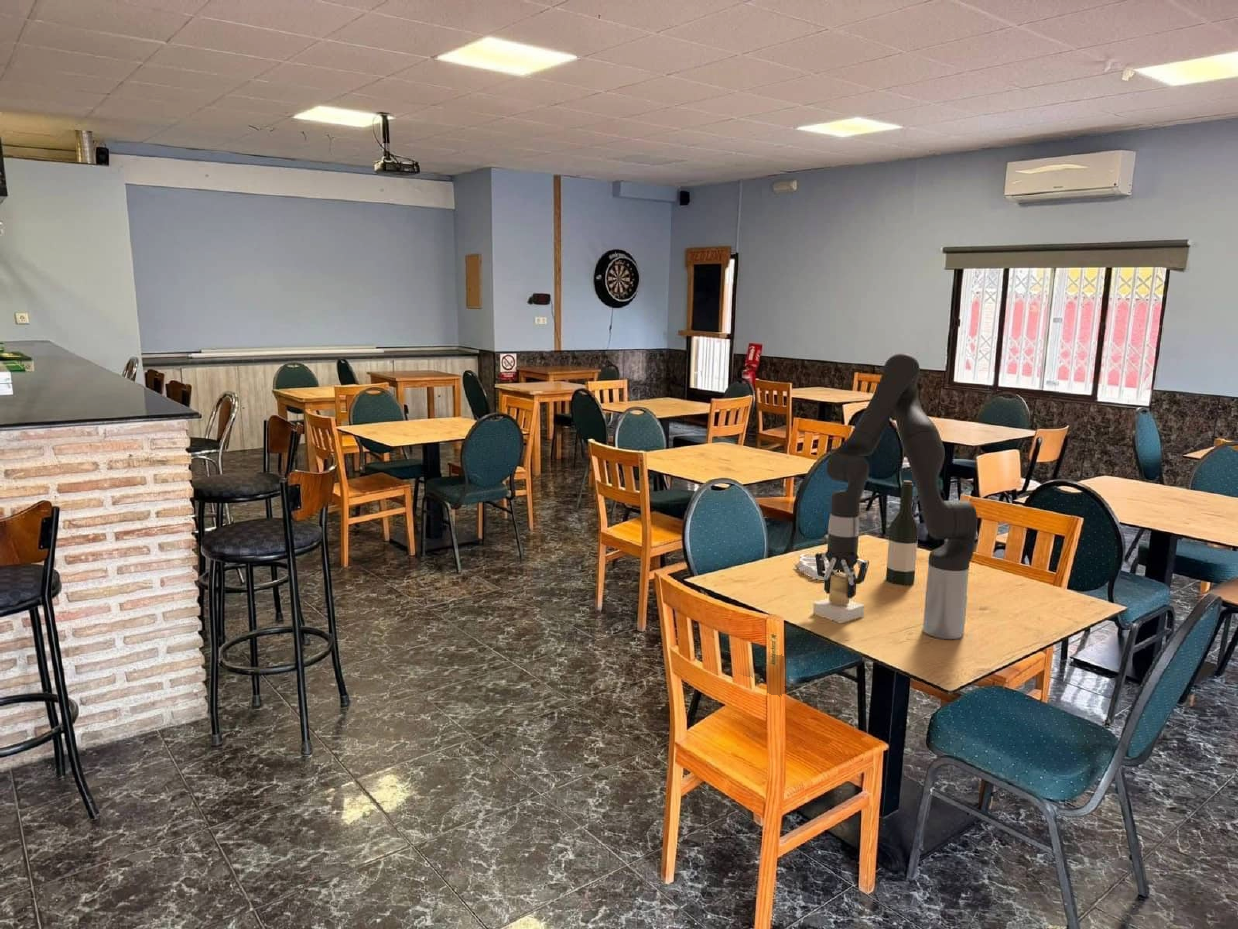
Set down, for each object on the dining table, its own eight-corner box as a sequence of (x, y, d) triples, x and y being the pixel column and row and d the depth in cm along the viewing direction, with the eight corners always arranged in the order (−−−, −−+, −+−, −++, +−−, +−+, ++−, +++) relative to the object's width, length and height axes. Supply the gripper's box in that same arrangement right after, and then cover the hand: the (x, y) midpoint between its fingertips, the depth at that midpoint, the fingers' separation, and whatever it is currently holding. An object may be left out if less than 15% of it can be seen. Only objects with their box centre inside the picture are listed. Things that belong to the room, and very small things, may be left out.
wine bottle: (919, 586, 240) (927, 484, 235) (890, 585, 240) (897, 483, 235) (909, 576, 248) (917, 478, 243) (881, 576, 248) (888, 478, 243)
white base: (834, 606, 222) (835, 595, 222) (863, 616, 215) (864, 605, 215) (813, 613, 217) (813, 602, 216) (841, 623, 210) (842, 612, 209)
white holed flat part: (853, 582, 244) (804, 582, 243) (834, 563, 262) (788, 564, 261) (853, 571, 244) (804, 571, 243) (834, 553, 261) (789, 553, 261)
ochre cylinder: (837, 596, 219) (839, 571, 217) (852, 602, 215) (855, 576, 213) (825, 600, 216) (826, 574, 214) (840, 606, 212) (842, 579, 210)
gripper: (876, 533, 211) (871, 597, 214) (823, 524, 219) (819, 586, 222) (865, 539, 205) (860, 605, 208) (811, 530, 213) (807, 593, 216)
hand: (839, 595), depth 215 cm, fingers open, 5 cm apart
